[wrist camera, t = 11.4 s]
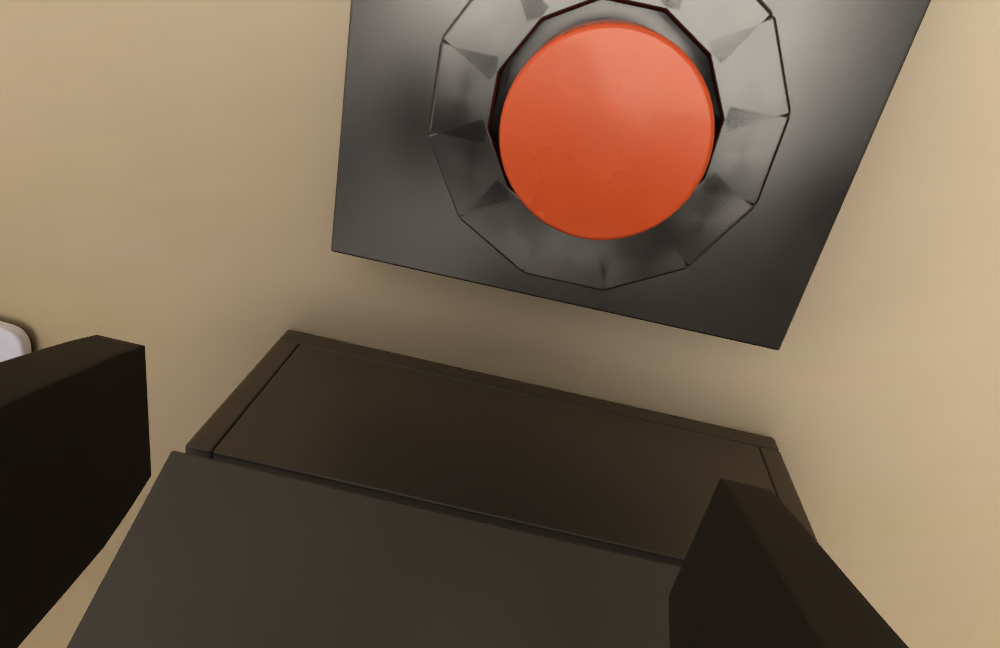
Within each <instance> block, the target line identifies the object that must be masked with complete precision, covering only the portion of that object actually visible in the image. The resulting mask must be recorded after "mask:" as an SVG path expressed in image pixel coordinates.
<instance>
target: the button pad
mask: <svg viewBox="0 0 1000 648" xmlns="http://www.w3.org/2000/svg"><path fill="white" fill-rule="evenodd" d="M930 1H931V0H351V11H350V24H349V36H348V49H347V61H346V73H345V86H344V98H343V111H342V123H341V135H340V148H339V160H338V173H337V185H336V197H335V210H334V222H333V235H332V247H331V250H332V251H334V252H339V253H343V254H348V255H352V256H357V257H361V258H366V259H370V260H375V261H379V262H384V263H388V264H393V265H397V266H402V267H406V268H411V269H415V270H420V271H424V272H429V273H433V274H438V275H442V276H447V277H451V278H456V279H460V280H465V281H469V282H474V283H478V284H483V285H487V286H492V287H496V288H501V289H505V290H510V291H514V292H519V293H523V294H528V295H532V296H537V297H541V298H546V299H550V300H555V301H559V302H564V303H568V304H573V305H577V306H582V307H586V308H591V309H595V310H600V311H604V312H609V313H613V314H618V315H622V316H627V317H631V318H636V319H640V320H645V321H649V322H654V323H658V324H663V325H667V326H672V327H676V328H681V329H685V330H690V331H694V332H699V333H703V334H708V335H712V336H717V337H721V338H726V339H730V340H734V341H739V342H743V343H748V344H752V345H757V346H761V347H766V348H770V349H775V350H779V348H780V346H781V344H782V341H783V339H784V337H785V335H786V332H787V330H788V328H789V325H790V323H791V321H792V318H793V316H794V314H795V312H796V309H797V307H798V305H799V302H800V300H801V298H802V295H803V293H804V291H805V289H806V286H807V284H808V282H809V279H810V277H811V275H812V272H813V270H814V268H815V266H816V263H817V261H818V259H819V256H820V254H821V252H822V249H823V247H824V245H825V243H826V240H827V238H828V236H829V233H830V231H831V229H832V226H833V224H834V222H835V220H836V217H837V215H838V213H839V210H840V208H841V206H842V203H843V201H844V199H845V197H846V194H847V192H848V190H849V187H850V185H851V183H852V180H853V178H854V176H855V174H856V171H857V169H858V167H859V164H860V162H861V160H862V157H863V155H864V153H865V151H866V148H867V146H868V144H869V141H870V139H871V137H872V134H873V132H874V130H875V128H876V125H877V123H878V121H879V118H880V116H881V114H882V111H883V109H884V107H885V105H886V102H887V100H888V98H889V95H890V93H891V91H892V88H893V86H894V84H895V82H896V79H897V77H898V75H899V72H900V70H901V68H902V65H903V63H904V61H905V59H906V56H907V54H908V52H909V49H910V47H911V45H912V42H913V40H914V38H915V36H916V33H917V31H918V29H919V26H920V24H921V22H922V19H923V17H924V15H925V13H926V10H927V8H928V6H929V3H930ZM600 19H618V20H625V21H630V22H634V23H637V24H641V25H643V26H645V27H647V28H650V29H652V30H654V31H656V32H657V33H659V34H661V35H663V36H664V37H666V38H667V39H669V40H670V41H672V42H673V43H675V44H676V45H677V46H678V47H679V48H680V49H682V50H683V51H684V52H685V53H686V54H687V55H688V56H689V58H690V59H691V60H692V61H693V62H694V64H695V65H696V67H697V68H698V70H699V71H700V73H701V75H702V76H703V78H704V81H705V83H706V85H707V87H708V90H709V93H710V96H711V100H712V104H713V110H714V117H715V135H714V143H713V149H712V153H711V157H710V160H709V163H708V166H707V168H706V171H705V173H704V175H703V177H702V179H701V181H700V183H699V184H698V186H697V188H696V189H695V191H694V192H693V193H692V195H691V196H690V197H689V199H688V200H687V201H686V202H685V203H684V204H683V205H682V206H681V207H680V208H679V209H678V210H677V211H676V212H675V213H674V214H672V215H671V216H670V217H669V218H668V219H666V220H665V221H663V222H661V223H660V224H658V225H657V226H655V227H653V228H651V229H649V230H647V231H645V232H642V233H639V234H636V235H633V236H630V237H625V238H621V239H613V240H590V239H583V238H578V237H574V236H571V235H568V234H565V233H563V232H560V231H558V230H556V229H554V228H552V227H550V226H549V225H547V224H545V223H544V222H542V221H541V220H540V219H538V218H537V217H536V216H535V215H533V214H532V213H531V212H530V211H529V210H528V209H527V208H526V207H525V206H524V204H523V203H522V202H521V200H520V199H519V198H518V196H517V195H516V193H515V192H514V190H513V188H512V186H511V185H510V183H509V180H508V178H507V176H506V173H505V171H504V167H503V163H502V159H501V154H500V146H499V127H500V119H501V113H502V109H503V106H504V102H505V99H506V97H507V94H508V92H509V89H510V87H511V85H512V83H513V82H514V80H515V78H516V76H517V75H518V73H519V72H520V71H521V69H522V68H523V66H524V65H525V64H526V63H527V61H528V60H529V59H530V58H531V57H532V56H533V54H534V53H535V52H536V51H537V50H538V49H539V48H540V47H541V46H542V45H543V44H545V43H546V42H547V41H548V40H549V39H551V38H552V37H554V36H555V35H557V34H558V33H560V32H562V31H563V30H565V29H568V28H570V27H572V26H574V25H577V24H580V23H584V22H587V21H593V20H600Z"/></svg>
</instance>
